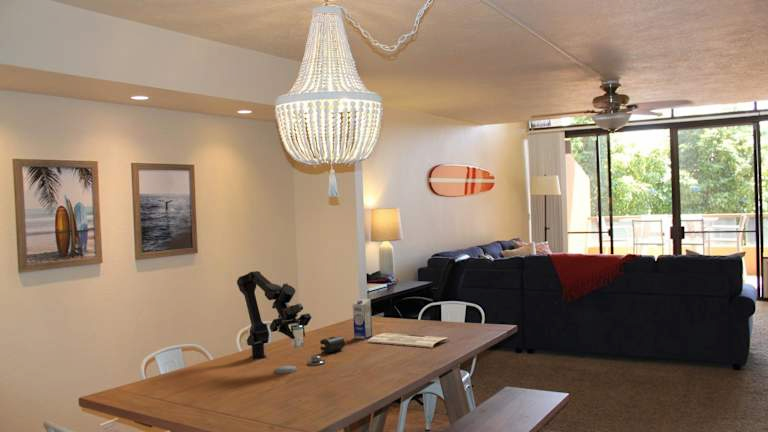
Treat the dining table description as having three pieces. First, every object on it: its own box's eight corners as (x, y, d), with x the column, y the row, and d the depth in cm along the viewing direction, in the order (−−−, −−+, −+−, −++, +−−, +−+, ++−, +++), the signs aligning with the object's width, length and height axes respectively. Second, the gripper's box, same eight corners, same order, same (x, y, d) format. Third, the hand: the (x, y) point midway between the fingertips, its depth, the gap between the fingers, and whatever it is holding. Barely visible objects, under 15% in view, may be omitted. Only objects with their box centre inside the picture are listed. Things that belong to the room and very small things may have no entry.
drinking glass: (292, 345, 294) (291, 325, 294) (304, 345, 294) (303, 324, 294) (291, 348, 289) (290, 327, 288) (303, 347, 289) (302, 326, 289)
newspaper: (449, 341, 333) (449, 336, 333) (431, 350, 317) (431, 344, 317) (386, 337, 353) (386, 331, 353) (366, 344, 337) (365, 339, 336)
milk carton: (372, 337, 352) (370, 298, 351) (365, 339, 346) (363, 300, 346) (361, 336, 356) (359, 298, 355) (354, 338, 350) (352, 300, 349)
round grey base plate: (305, 362, 301) (305, 356, 301) (322, 360, 304) (322, 353, 304) (309, 366, 294) (309, 359, 294) (327, 364, 297) (327, 357, 296)
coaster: (273, 369, 291) (273, 367, 291) (293, 367, 294) (293, 364, 294) (277, 374, 282) (277, 372, 282) (298, 371, 285) (298, 369, 285)
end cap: (331, 354, 315) (330, 340, 315) (320, 353, 320) (319, 339, 319) (345, 350, 323) (344, 336, 323) (334, 349, 327) (333, 335, 327)
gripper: (271, 300, 288) (287, 329, 280) (308, 295, 300) (323, 322, 292) (263, 317, 294) (277, 345, 286) (299, 311, 306) (314, 338, 298)
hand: (299, 337), depth 290 cm, fingers closed on drinking glass, 5 cm apart
